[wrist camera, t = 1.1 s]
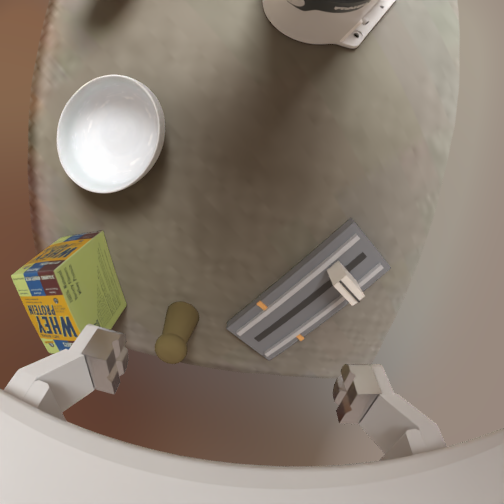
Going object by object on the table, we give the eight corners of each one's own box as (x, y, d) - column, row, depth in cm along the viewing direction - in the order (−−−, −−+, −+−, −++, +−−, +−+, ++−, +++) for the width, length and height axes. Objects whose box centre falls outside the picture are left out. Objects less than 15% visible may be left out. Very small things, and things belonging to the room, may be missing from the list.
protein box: (103, 228, 46) (53, 269, 32) (128, 305, 52) (94, 360, 38) (60, 236, 47) (9, 274, 33) (85, 306, 53) (48, 355, 39)
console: (350, 217, 45) (356, 223, 42) (386, 262, 48) (392, 270, 45) (227, 321, 53) (225, 331, 50) (269, 353, 56) (269, 363, 53)
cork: (160, 311, 52) (142, 350, 42) (183, 295, 51) (167, 335, 41) (182, 333, 54) (169, 373, 44) (205, 319, 53) (195, 360, 43)
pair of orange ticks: (260, 300, 49) (259, 301, 48) (304, 337, 52) (304, 338, 51) (256, 303, 49) (256, 304, 48) (300, 340, 52) (300, 341, 52)
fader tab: (338, 260, 45) (346, 276, 40) (355, 279, 46) (365, 296, 42) (326, 269, 46) (333, 286, 41) (344, 289, 47) (352, 306, 42)
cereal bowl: (167, 67, 36) (151, 58, 29) (183, 173, 42) (169, 182, 36) (74, 98, 37) (49, 97, 31) (89, 192, 44) (67, 204, 37)
